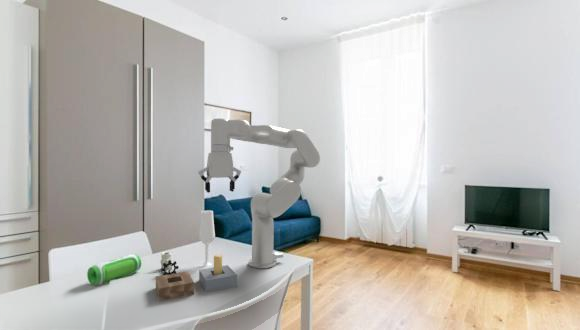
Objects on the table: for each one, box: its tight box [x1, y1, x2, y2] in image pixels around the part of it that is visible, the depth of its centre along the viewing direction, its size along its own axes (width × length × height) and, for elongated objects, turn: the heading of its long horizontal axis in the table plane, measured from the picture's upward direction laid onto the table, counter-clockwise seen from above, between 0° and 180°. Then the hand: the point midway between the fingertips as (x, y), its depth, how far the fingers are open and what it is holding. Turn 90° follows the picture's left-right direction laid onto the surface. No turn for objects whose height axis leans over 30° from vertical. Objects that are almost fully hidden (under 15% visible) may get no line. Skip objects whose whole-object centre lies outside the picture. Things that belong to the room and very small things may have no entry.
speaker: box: [86, 254, 142, 286], centre depth 119 cm, size 18×7×8 cm, turn 150°
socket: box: [198, 264, 238, 293], centre depth 113 cm, size 11×11×5 cm
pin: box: [213, 254, 223, 275], centre depth 113 cm, size 3×3×10 cm
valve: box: [160, 251, 180, 276], centre depth 126 cm, size 7×7×12 cm
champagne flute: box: [198, 209, 216, 267], centre depth 132 cm, size 7×7×24 cm
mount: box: [155, 271, 195, 302], centre depth 106 cm, size 11×11×5 cm
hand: (220, 191), depth 125 cm, fingers open, 9 cm apart
